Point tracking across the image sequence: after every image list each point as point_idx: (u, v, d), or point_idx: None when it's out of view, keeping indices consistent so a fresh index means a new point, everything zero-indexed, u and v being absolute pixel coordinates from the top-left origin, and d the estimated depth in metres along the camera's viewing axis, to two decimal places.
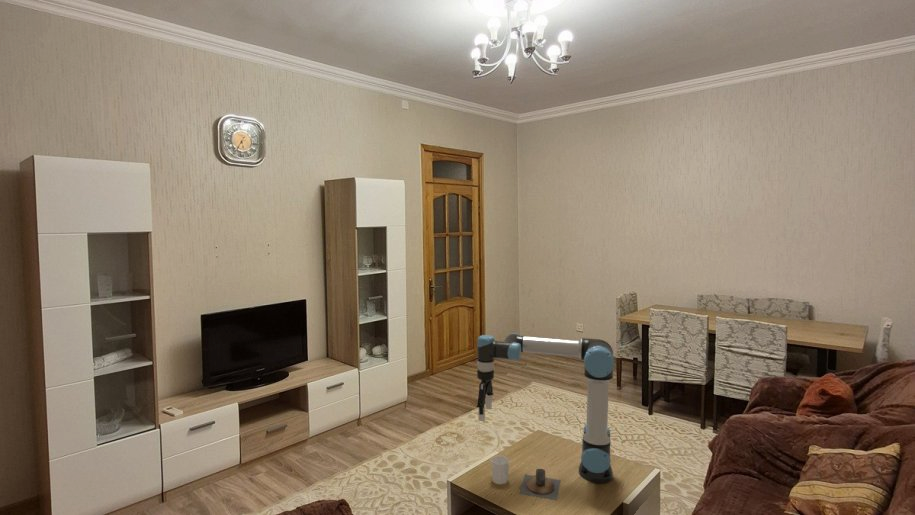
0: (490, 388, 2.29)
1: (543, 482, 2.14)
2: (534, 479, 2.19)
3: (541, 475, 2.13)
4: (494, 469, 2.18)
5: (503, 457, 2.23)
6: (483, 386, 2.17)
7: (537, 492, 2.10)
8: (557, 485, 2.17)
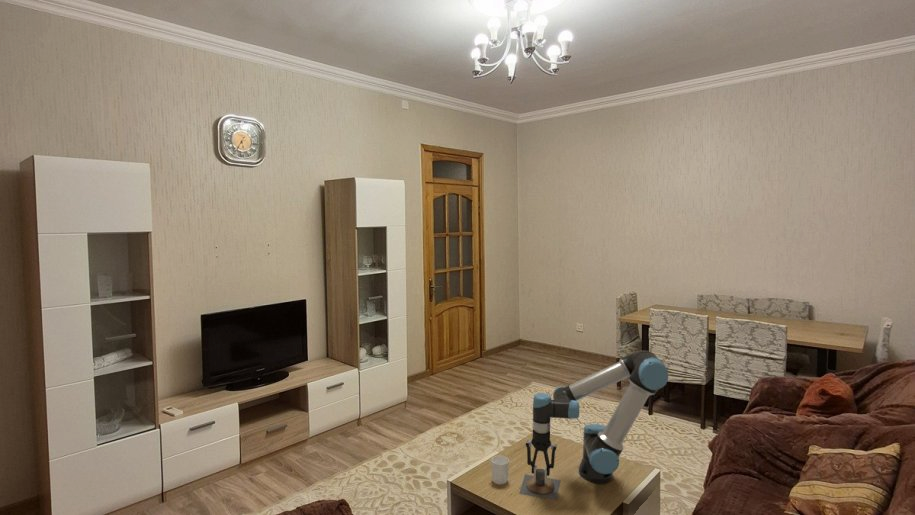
0: (546, 458, 2.12)
1: (543, 482, 2.14)
2: None
3: (541, 475, 2.13)
4: (494, 469, 2.18)
5: (503, 457, 2.23)
6: None
7: (537, 492, 2.10)
8: (557, 485, 2.17)
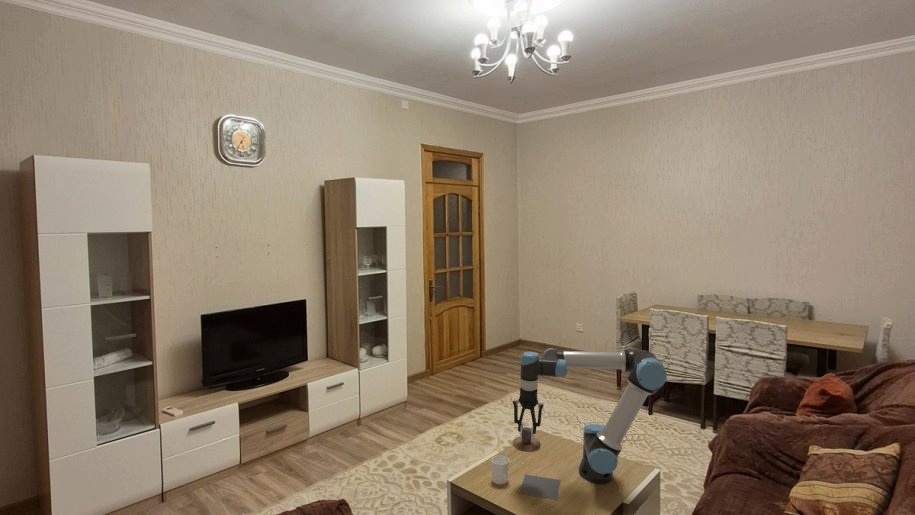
0: (533, 416, 2.12)
1: (529, 440, 2.14)
2: None
3: (527, 433, 2.13)
4: (494, 469, 2.18)
5: (503, 457, 2.23)
6: None
7: (523, 449, 2.10)
8: (557, 485, 2.17)
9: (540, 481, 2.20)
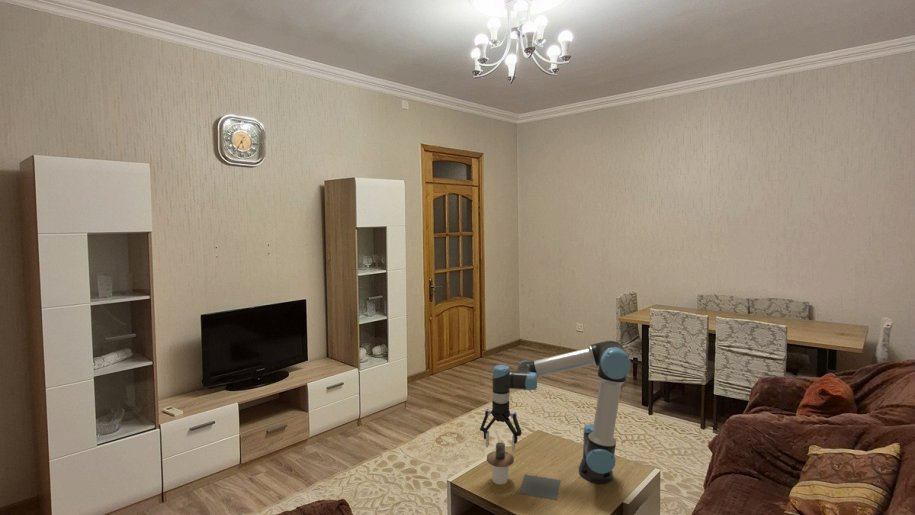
0: (510, 426, 2.16)
1: (503, 455, 2.18)
2: (495, 453, 2.24)
3: (500, 448, 2.17)
4: (494, 469, 2.18)
5: None
6: None
7: (496, 465, 2.14)
8: (557, 485, 2.17)
9: (540, 481, 2.20)
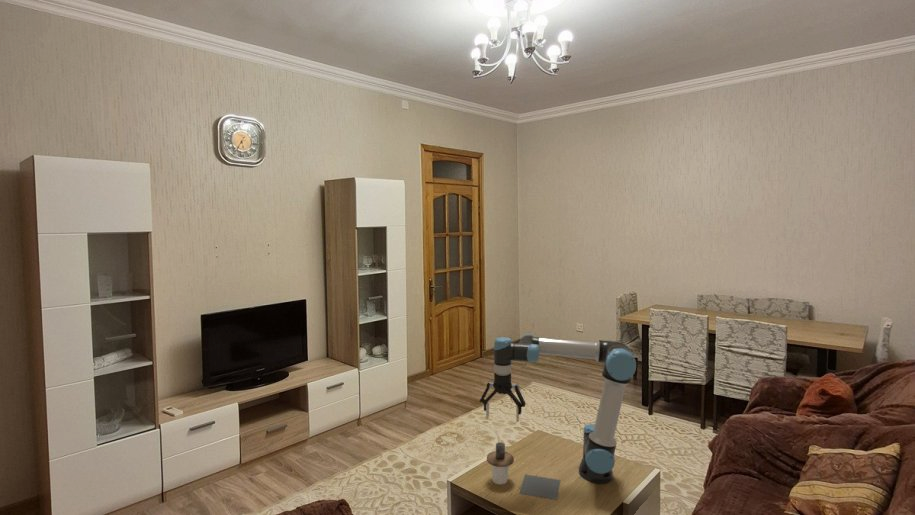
0: (513, 398, 2.15)
1: (503, 455, 2.18)
2: (495, 453, 2.24)
3: (500, 448, 2.17)
4: (494, 469, 2.18)
5: None
6: (487, 383, 2.18)
7: (496, 465, 2.14)
8: (557, 485, 2.17)
9: (540, 481, 2.20)
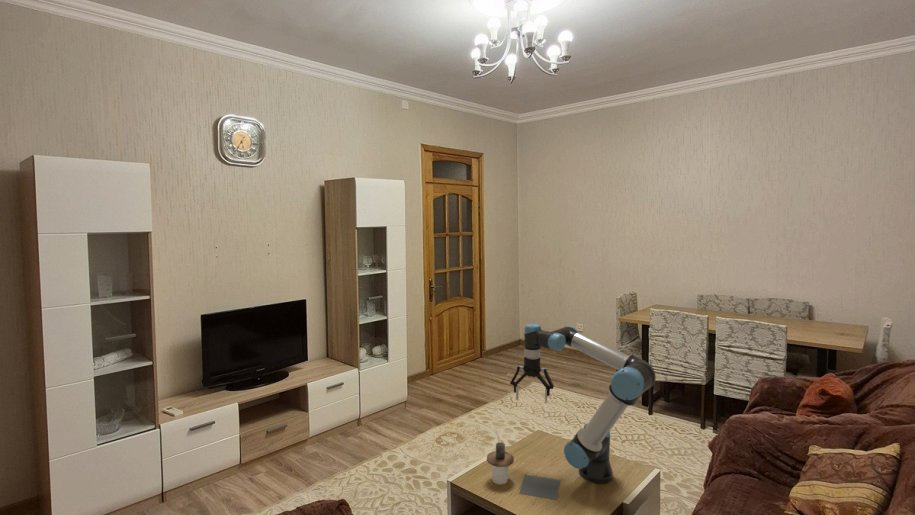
0: (542, 380, 2.28)
1: (503, 455, 2.18)
2: (495, 453, 2.24)
3: (500, 448, 2.17)
4: (494, 469, 2.18)
5: None
6: (517, 367, 2.32)
7: (496, 465, 2.14)
8: (557, 485, 2.17)
9: (540, 481, 2.20)
